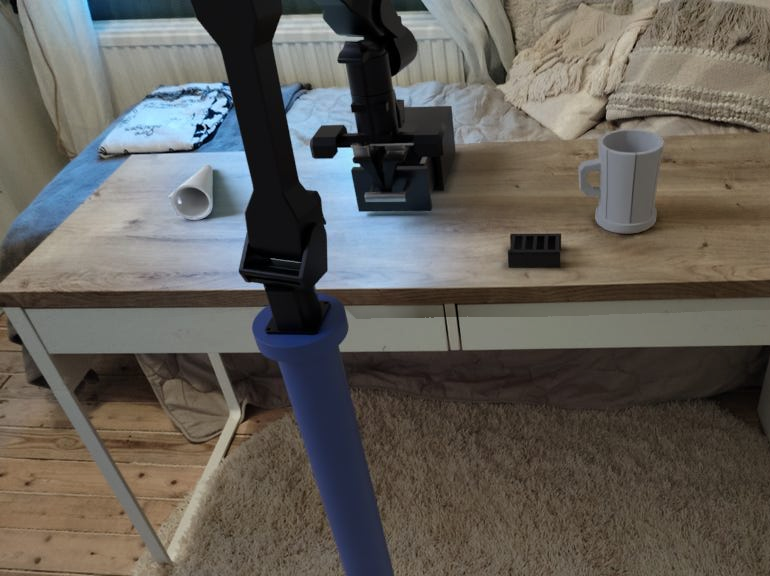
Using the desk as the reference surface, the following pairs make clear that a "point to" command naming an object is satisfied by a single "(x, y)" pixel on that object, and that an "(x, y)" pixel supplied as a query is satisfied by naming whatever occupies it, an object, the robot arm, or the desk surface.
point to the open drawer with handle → (398, 186)
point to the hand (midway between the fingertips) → (388, 196)
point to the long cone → (194, 195)
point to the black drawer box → (434, 116)
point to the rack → (535, 250)
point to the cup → (625, 180)
